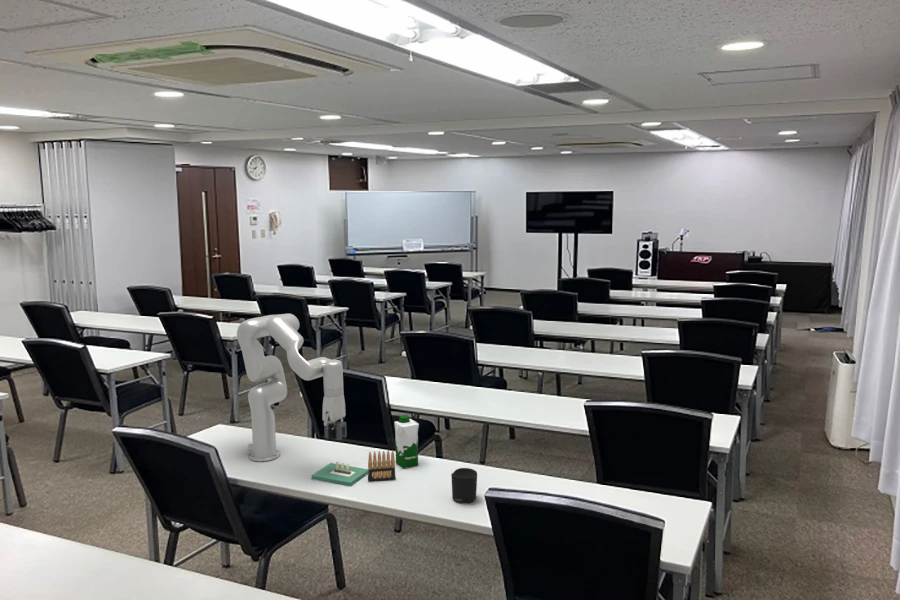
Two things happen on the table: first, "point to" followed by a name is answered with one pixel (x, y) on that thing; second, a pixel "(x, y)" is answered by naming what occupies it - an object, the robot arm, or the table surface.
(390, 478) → the ammunition clip
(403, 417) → the milk carton
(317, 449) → the table surface
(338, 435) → the block
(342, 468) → the header board
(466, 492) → the pen holder
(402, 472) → the table surface
